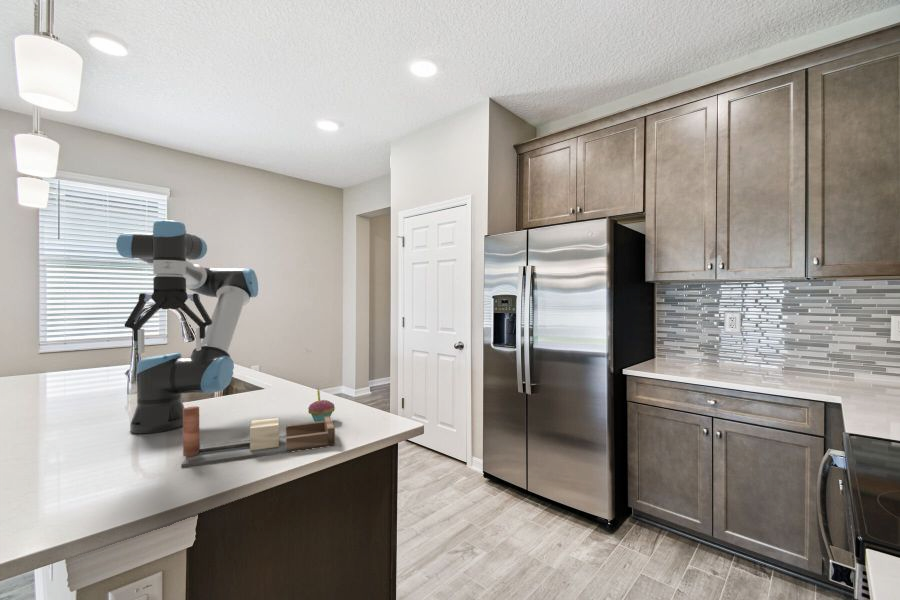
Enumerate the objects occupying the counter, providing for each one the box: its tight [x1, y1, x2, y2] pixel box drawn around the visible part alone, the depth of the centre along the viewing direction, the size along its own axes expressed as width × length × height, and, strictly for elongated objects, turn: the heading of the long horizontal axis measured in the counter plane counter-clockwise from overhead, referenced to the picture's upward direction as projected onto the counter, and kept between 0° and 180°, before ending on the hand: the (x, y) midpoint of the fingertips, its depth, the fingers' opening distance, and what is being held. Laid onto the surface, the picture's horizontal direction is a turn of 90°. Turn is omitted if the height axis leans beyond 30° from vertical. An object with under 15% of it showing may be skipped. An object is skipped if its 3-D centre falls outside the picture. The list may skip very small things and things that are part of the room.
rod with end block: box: [182, 405, 280, 458], centre depth 108 cm, size 7×23×12 cm, turn 113°
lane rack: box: [180, 416, 336, 468], centre depth 111 cm, size 12×37×5 cm, turn 113°
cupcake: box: [307, 388, 336, 422], centre depth 134 cm, size 9×8×12 cm
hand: (170, 351), depth 112 cm, fingers open, 13 cm apart
